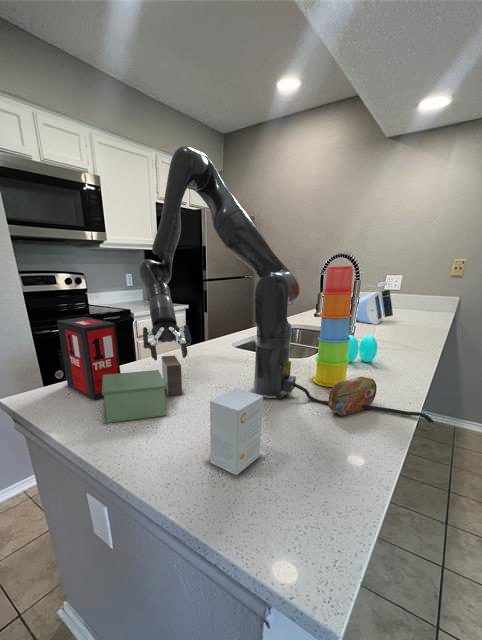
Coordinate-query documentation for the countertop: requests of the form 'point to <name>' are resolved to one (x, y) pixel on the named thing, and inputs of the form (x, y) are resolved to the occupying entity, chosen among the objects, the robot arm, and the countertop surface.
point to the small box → (235, 429)
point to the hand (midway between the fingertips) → (170, 357)
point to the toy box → (133, 395)
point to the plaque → (172, 375)
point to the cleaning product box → (88, 353)
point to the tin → (352, 395)
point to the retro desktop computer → (374, 306)
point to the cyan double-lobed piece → (362, 348)
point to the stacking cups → (334, 327)
